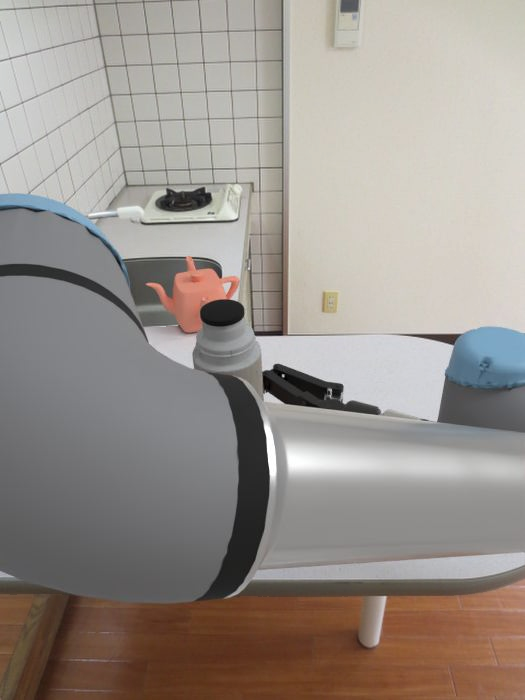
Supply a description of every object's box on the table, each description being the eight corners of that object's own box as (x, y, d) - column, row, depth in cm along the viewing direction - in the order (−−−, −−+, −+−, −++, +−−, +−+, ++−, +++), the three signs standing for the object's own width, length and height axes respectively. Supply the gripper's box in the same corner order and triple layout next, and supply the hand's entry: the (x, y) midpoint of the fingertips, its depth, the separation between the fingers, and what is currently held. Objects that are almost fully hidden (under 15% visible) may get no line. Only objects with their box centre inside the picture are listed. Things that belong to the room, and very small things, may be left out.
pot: (150, 325, 128) (141, 279, 121) (193, 294, 140) (187, 251, 133) (211, 345, 120) (205, 297, 113) (251, 311, 132) (249, 265, 125)
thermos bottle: (260, 456, 77) (249, 286, 61) (274, 497, 71) (266, 320, 55) (206, 467, 76) (181, 296, 60) (216, 511, 69) (191, 332, 53)
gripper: (342, 535, 52) (155, 465, 61) (394, 410, 68) (238, 368, 76) (346, 484, 48) (144, 417, 57) (401, 363, 63) (235, 324, 72)
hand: (198, 389), depth 67 cm, fingers closed on thermos bottle, 8 cm apart
